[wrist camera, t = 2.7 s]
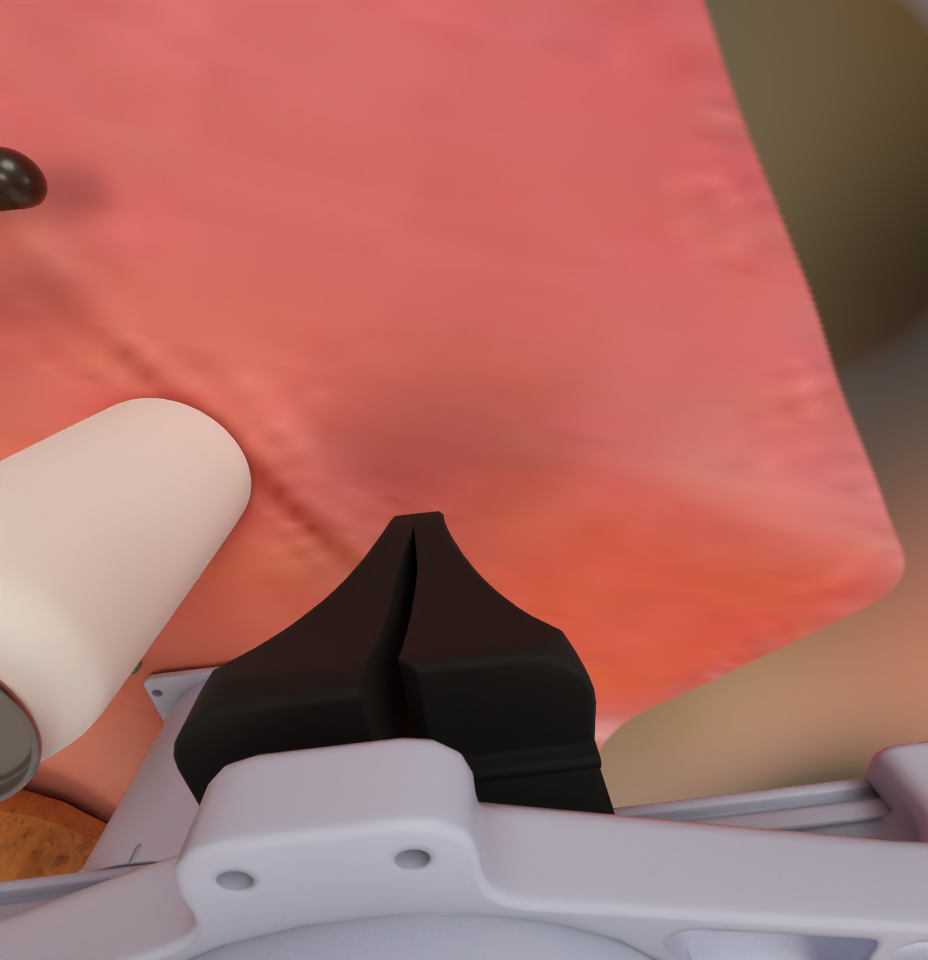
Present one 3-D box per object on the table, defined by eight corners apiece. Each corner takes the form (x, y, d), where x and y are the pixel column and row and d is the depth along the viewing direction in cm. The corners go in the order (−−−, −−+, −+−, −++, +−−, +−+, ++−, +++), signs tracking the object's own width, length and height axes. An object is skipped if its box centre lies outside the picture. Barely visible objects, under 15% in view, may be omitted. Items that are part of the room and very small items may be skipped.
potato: (-20, 724, 26) (-136, 876, 20) (169, 813, 32) (127, 950, 26) (-119, 791, 26) (-263, 960, 20) (86, 866, 32) (24, 1013, 26)
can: (76, 498, 20) (-327, 784, 9) (109, 364, 18) (-374, 540, 7) (228, 555, 22) (34, 851, 11) (277, 439, 20) (91, 672, 9)
